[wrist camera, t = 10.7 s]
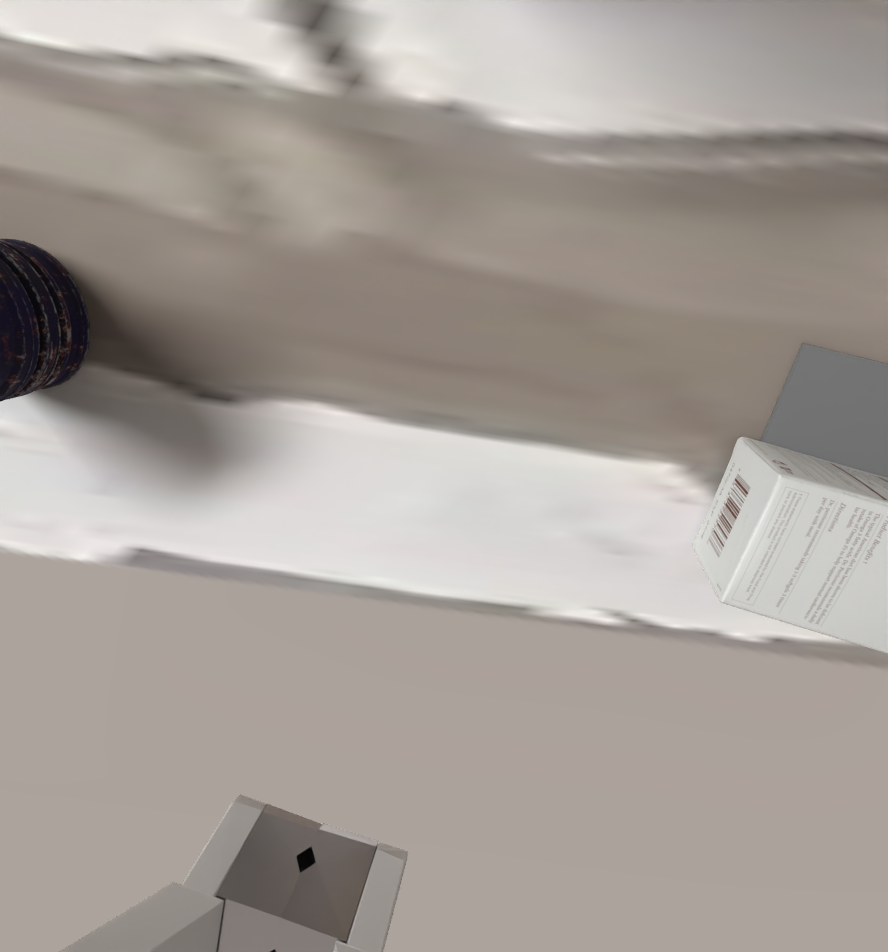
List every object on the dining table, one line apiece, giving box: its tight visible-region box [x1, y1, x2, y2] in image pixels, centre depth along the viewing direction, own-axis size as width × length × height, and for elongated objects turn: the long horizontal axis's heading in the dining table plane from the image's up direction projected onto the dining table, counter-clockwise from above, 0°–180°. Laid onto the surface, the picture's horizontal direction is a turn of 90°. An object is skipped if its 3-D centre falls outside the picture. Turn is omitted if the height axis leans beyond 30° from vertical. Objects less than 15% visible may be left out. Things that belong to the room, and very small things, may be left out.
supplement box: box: [692, 437, 888, 654], centre depth 32 cm, size 7×7×13 cm
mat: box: [760, 343, 888, 478], centre depth 34 cm, size 13×14×1 cm
